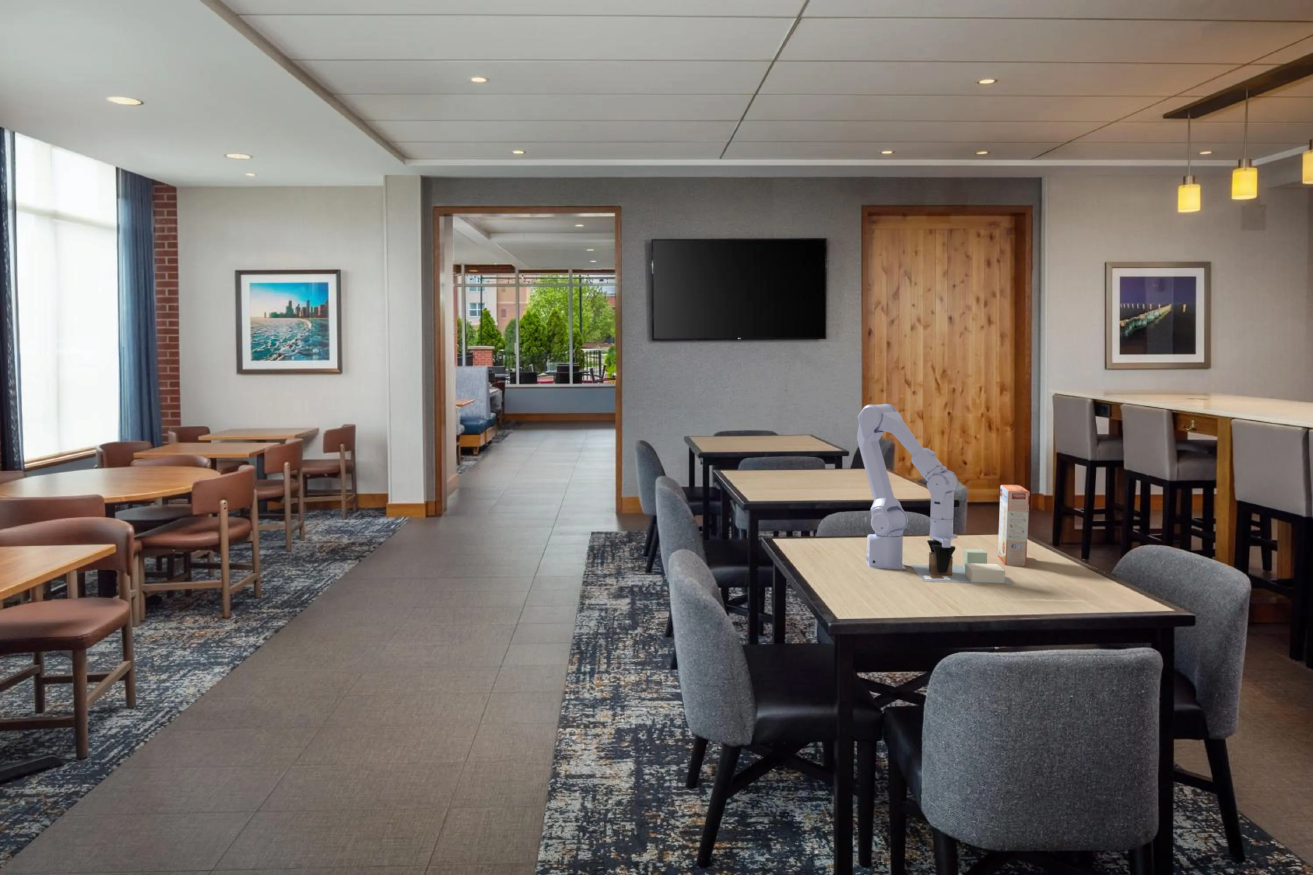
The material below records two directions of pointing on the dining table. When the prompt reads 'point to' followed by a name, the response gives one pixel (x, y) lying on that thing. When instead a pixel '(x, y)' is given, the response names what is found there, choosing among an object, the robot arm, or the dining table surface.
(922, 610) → the dining table surface
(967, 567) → the cream base block
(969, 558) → the sage block
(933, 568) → the walnut block
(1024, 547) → the cracker box
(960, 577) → the board
